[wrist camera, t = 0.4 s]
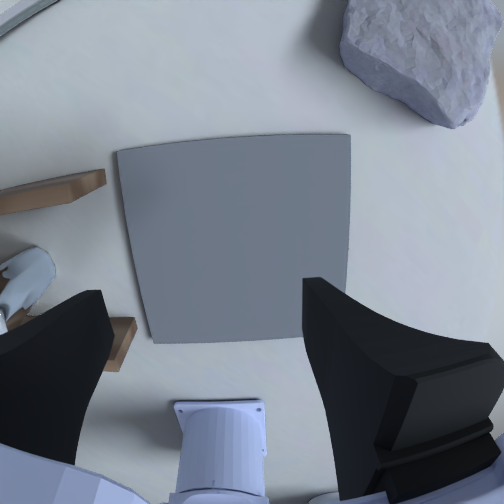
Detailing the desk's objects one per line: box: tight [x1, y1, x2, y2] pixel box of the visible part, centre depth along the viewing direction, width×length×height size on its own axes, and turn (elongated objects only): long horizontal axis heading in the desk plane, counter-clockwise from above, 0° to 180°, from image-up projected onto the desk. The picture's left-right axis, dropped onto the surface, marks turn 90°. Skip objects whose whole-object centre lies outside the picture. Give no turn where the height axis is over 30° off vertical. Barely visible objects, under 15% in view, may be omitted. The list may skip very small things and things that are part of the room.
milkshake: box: [0, 247, 55, 335], centre depth 16 cm, size 4×5×10 cm
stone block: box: [339, 0, 503, 129], centre depth 14 cm, size 12×5×10 cm
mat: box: [117, 134, 351, 344], centre depth 21 cm, size 14×14×1 cm
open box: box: [0, 169, 138, 372], centre depth 19 cm, size 12×14×5 cm
